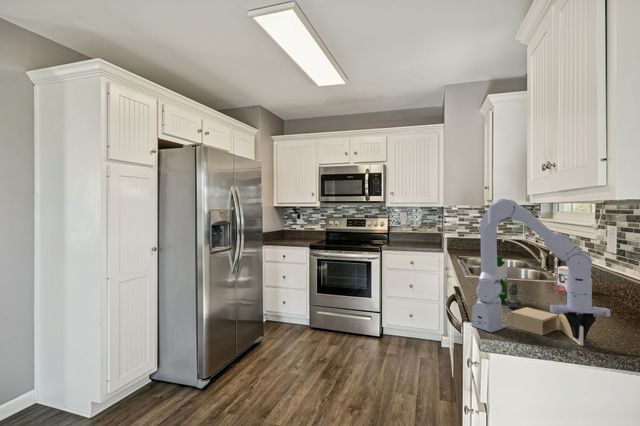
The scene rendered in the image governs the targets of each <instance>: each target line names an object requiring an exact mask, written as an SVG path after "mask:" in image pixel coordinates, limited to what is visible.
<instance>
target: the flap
mask: <svg viewBox="0 0 640 426" xmlns="http://www.w3.org/2000/svg"><path fill="white" fill-rule="evenodd" d="M558 317H559V319H558V321H559V322H558V323H559V324H558V325H559V326H558V329H559V330H560V331H562V333H564V334H565V335H566V336H567V337H569V338H570V339H571V340H572V341H574V342H575V343H577V345H579V346H584V340H583V326H582V325H579V338H578V339H575V338H574V337H573V335H572V331H571V328H570V325H569V323H568V320H567V319H566V317H565V315H564V313H558Z"/></svg>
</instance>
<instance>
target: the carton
mask: <svg viewBox="0 0 640 426" xmlns="http://www.w3.org/2000/svg"><path fill="white" fill-rule="evenodd" d="M558 317H559V314H557V313H552V312H549V311H543V310H540V309H535V308H532V307H527V306H526V307H522V308H519V309H518V310H515V311H510V327H512V328H515V329H520V330H522V331H526V332H529V333H531V334H532V333H533V334H536V335H539V336H544V335H546V334H549V333H551V332H553V331H556V330H557V329H558V324H557V323H558Z"/></svg>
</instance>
